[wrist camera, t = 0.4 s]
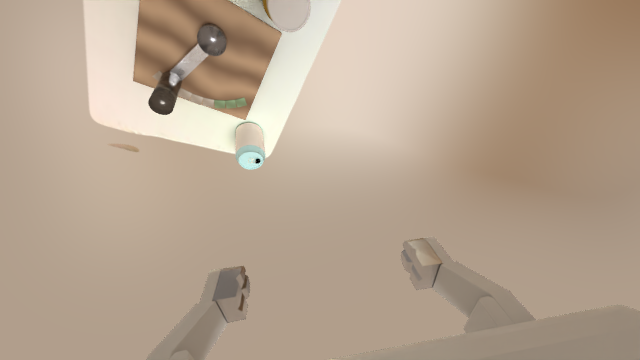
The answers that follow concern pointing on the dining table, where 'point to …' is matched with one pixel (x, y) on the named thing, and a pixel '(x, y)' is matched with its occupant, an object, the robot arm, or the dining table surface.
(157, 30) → the tuner board
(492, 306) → the robot arm
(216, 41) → the peg lever
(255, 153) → the can
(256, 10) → the dining table surface
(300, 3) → the bottle
